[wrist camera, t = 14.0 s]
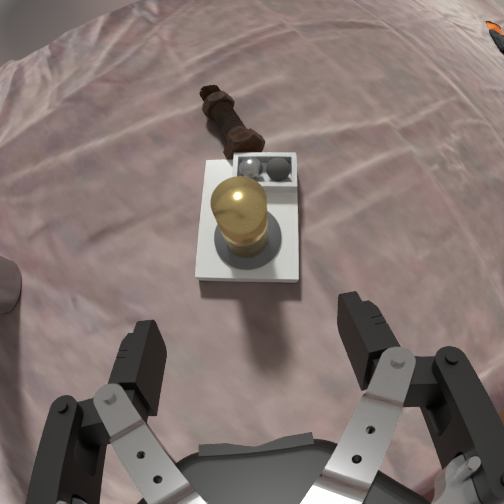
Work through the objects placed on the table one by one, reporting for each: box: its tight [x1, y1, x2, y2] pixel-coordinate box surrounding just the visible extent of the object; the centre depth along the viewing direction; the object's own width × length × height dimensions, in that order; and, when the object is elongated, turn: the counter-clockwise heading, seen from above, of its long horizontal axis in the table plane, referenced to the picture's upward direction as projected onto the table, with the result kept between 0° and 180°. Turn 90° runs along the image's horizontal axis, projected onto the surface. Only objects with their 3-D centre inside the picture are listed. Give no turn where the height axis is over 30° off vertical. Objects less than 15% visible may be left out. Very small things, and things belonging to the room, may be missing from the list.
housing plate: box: [195, 152, 299, 283], centre depth 38 cm, size 12×16×4 cm
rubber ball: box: [266, 157, 290, 181], centre depth 38 cm, size 3×3×3 cm
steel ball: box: [239, 157, 263, 180], centre depth 38 cm, size 3×3×3 cm
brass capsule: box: [210, 176, 268, 258], centre depth 32 cm, size 5×5×10 cm
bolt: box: [200, 85, 265, 160], centre depth 43 cm, size 6×5×15 cm
